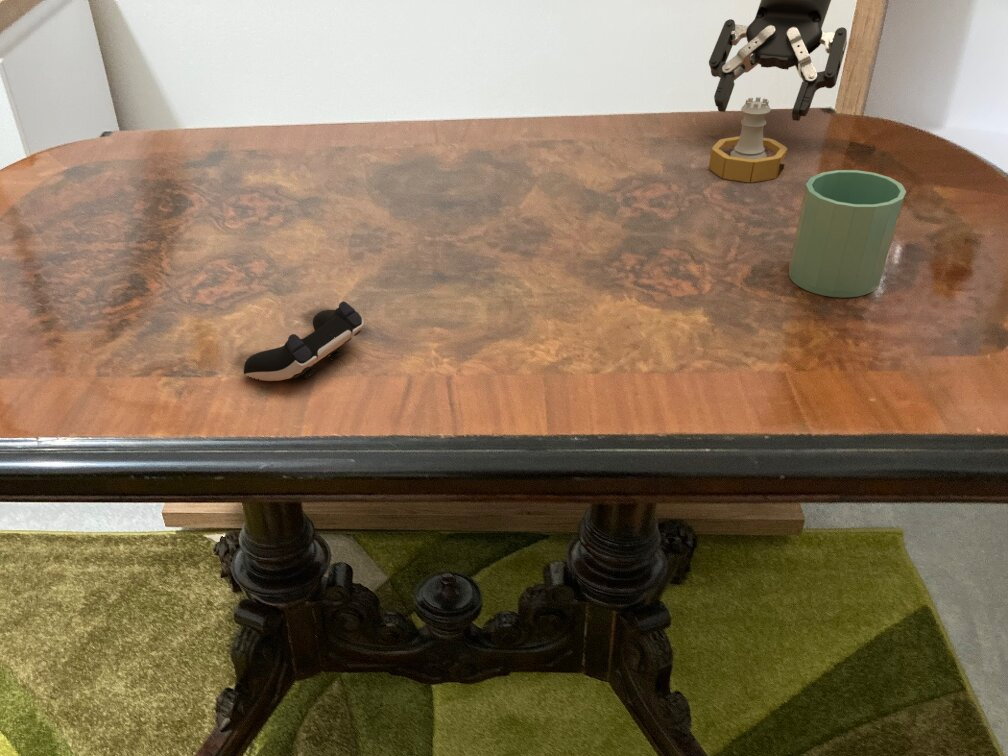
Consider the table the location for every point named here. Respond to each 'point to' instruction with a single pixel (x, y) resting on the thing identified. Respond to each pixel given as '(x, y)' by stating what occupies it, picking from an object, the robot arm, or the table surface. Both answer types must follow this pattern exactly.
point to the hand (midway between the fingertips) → (757, 113)
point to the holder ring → (747, 162)
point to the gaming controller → (307, 346)
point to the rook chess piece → (752, 130)
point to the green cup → (845, 232)
